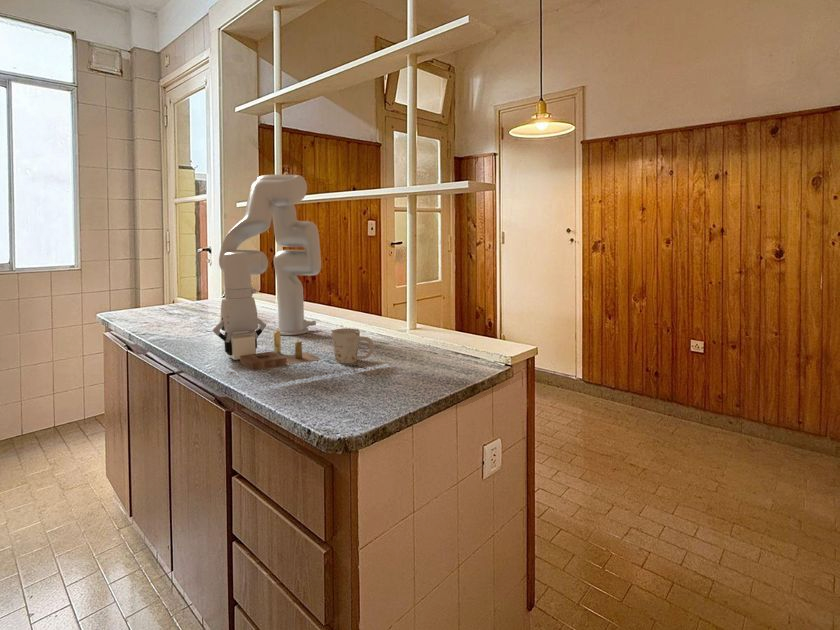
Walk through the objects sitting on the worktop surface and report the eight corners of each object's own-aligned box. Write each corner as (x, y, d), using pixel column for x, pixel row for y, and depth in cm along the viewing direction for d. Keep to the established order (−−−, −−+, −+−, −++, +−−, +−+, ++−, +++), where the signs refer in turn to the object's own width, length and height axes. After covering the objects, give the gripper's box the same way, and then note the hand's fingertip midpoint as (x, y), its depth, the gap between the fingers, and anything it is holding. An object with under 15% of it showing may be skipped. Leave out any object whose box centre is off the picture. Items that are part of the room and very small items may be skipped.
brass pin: (279, 355, 164) (278, 330, 162) (282, 356, 162) (281, 331, 161) (273, 356, 162) (272, 331, 161) (276, 357, 161) (275, 332, 159)
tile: (307, 355, 164) (306, 337, 163) (321, 362, 156) (320, 342, 155) (276, 360, 158) (275, 341, 157) (290, 367, 150) (289, 347, 149)
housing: (248, 352, 161) (247, 330, 159) (255, 356, 156) (254, 334, 154) (227, 355, 157) (226, 332, 156) (234, 359, 152) (233, 336, 151)
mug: (333, 360, 158) (332, 328, 157) (374, 359, 159) (374, 328, 158) (330, 367, 150) (330, 334, 148) (374, 367, 151) (374, 333, 149)
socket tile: (273, 360, 157) (273, 351, 157) (286, 367, 149) (286, 357, 149) (240, 365, 151) (240, 355, 151) (252, 373, 143) (252, 363, 143)
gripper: (262, 290, 161) (264, 346, 164) (204, 294, 151) (208, 354, 154) (271, 293, 155) (273, 351, 158) (211, 297, 145) (215, 359, 148)
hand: (241, 352), depth 156 cm, fingers closed on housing, 6 cm apart
